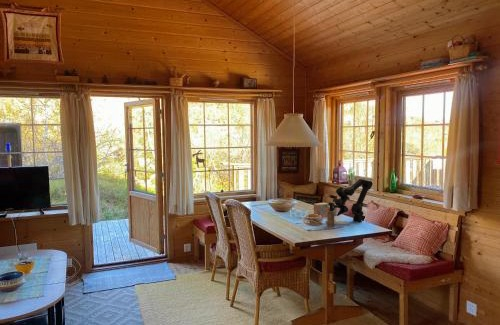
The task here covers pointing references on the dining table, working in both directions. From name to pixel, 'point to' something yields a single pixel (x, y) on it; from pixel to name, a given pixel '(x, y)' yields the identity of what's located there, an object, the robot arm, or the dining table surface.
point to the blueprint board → (340, 222)
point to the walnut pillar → (330, 219)
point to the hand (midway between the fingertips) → (333, 214)
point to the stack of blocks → (323, 209)
